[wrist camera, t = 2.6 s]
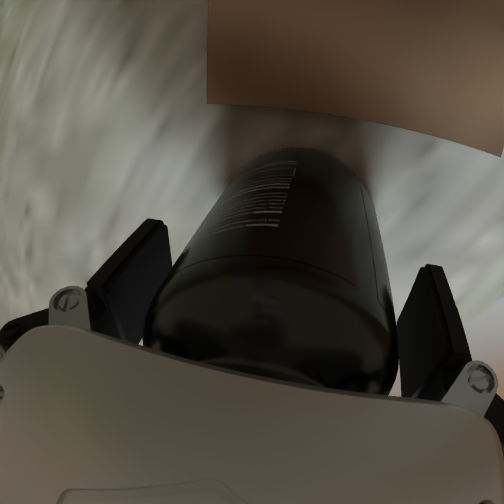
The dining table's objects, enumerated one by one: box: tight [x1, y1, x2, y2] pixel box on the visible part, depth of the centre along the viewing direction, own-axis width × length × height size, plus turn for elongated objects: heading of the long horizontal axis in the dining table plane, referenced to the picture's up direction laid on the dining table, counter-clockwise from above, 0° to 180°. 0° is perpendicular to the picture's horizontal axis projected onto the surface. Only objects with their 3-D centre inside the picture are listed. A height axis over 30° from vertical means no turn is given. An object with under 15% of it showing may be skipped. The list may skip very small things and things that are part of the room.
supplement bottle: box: [143, 148, 399, 396], centre depth 10 cm, size 7×7×12 cm
